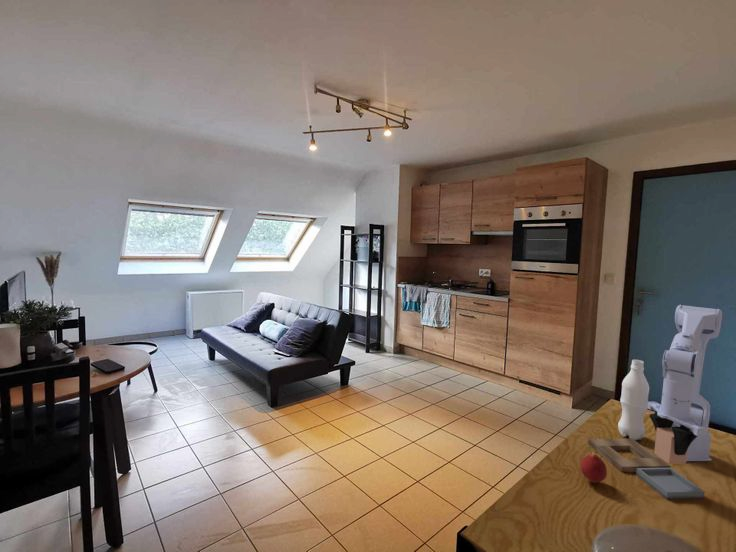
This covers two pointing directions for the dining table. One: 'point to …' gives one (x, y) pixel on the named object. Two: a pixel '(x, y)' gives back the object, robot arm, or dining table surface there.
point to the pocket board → (627, 464)
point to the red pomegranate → (593, 468)
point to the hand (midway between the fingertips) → (671, 448)
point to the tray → (670, 483)
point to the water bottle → (634, 402)
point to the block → (667, 447)
